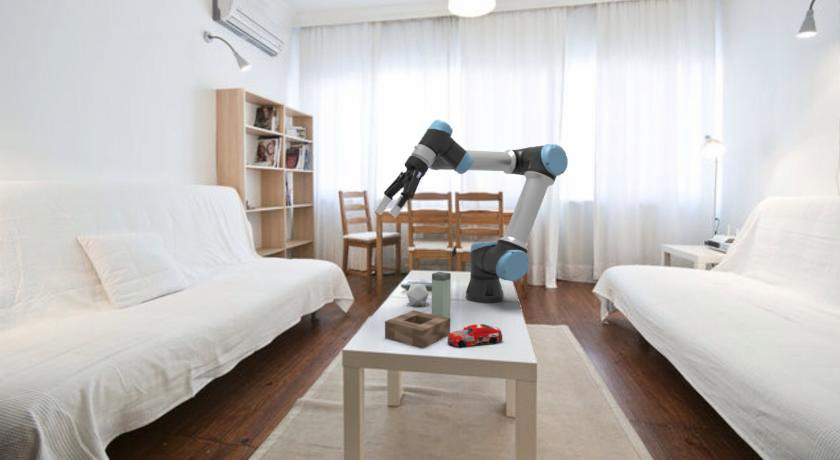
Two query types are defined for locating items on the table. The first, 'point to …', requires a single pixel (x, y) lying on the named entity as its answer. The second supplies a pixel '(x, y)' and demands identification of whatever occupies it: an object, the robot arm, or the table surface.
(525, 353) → the table surface
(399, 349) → the table surface
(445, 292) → the pin
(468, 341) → the race car
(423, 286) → the die
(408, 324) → the collar block
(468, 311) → the table surface
